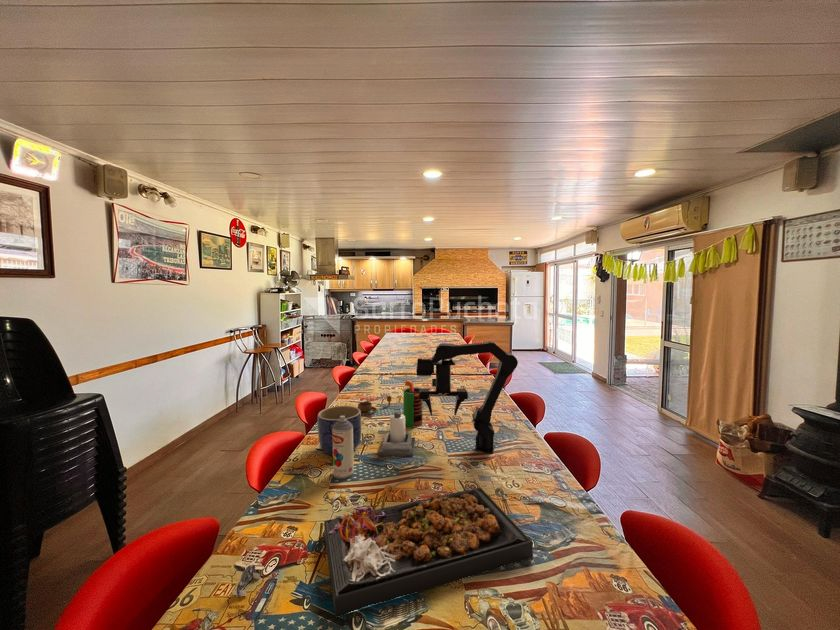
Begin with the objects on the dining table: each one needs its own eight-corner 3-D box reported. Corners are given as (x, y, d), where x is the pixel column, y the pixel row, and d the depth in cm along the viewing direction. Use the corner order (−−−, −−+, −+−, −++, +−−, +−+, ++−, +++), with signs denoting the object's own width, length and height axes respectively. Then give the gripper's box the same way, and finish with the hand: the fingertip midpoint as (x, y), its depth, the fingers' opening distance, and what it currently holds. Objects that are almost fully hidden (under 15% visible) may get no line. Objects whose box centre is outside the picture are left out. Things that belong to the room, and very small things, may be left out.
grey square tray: (414, 441, 147) (414, 431, 147) (413, 455, 134) (413, 445, 134) (383, 440, 148) (383, 431, 147) (379, 455, 135) (378, 445, 134)
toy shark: (251, 605, 72) (250, 584, 71) (221, 601, 73) (220, 580, 72) (289, 551, 87) (289, 533, 86) (264, 548, 88) (263, 530, 87)
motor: (420, 428, 161) (419, 384, 159) (400, 427, 162) (400, 383, 161) (424, 420, 171) (424, 379, 169) (406, 419, 172) (405, 378, 171)
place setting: (354, 407, 191) (354, 397, 191) (391, 406, 194) (391, 395, 193) (352, 419, 174) (351, 407, 173) (393, 417, 176) (393, 405, 176)
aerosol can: (329, 475, 121) (327, 417, 119) (344, 466, 126) (343, 411, 125) (343, 481, 117) (341, 421, 115) (358, 472, 122) (357, 415, 121)
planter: (316, 461, 130) (315, 421, 129) (320, 442, 147) (318, 407, 146) (362, 456, 134) (362, 418, 133) (360, 438, 150) (360, 404, 149)
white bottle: (408, 444, 141) (408, 413, 140) (396, 449, 137) (396, 416, 136) (398, 439, 145) (398, 409, 144) (387, 444, 141) (386, 412, 140)
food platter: (335, 620, 68) (334, 569, 68) (324, 537, 91) (323, 498, 91) (532, 559, 83) (533, 517, 83) (480, 501, 106) (480, 467, 106)
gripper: (465, 371, 147) (465, 408, 148) (419, 371, 147) (420, 408, 149) (468, 378, 136) (467, 418, 137) (419, 378, 136) (419, 417, 137)
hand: (443, 415), depth 140 cm, fingers open, 9 cm apart
